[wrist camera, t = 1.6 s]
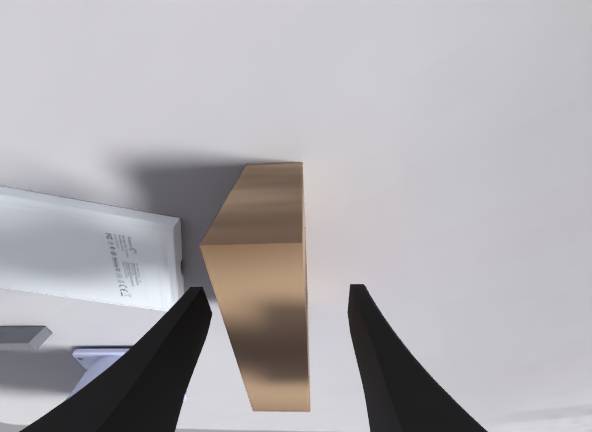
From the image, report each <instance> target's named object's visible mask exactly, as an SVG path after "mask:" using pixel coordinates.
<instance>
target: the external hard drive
mask: <svg viewBox="0 0 592 432" xmlns="http://www.w3.org/2000/svg"><path fill="white" fill-rule="evenodd" d="M181 260H182V237H181V219H180V218H176V217H171V216H165V215H160V214H154V213H148V212H143V211H137V210H132V209H127V208H121V207H115V206H110V205H104V204H99V203H93V202H88V201H82V200H76V199H71V198H65V197H60V196H54V195H49V194H43V193H38V192H32V191H27V190H22V189H16V188H10V187H4V186H0V288H4V289H11V290H18V291H25V292H32V293H39V294H46V295H53V296H60V297H67V298H75V299H82V300H89V301H96V302H103V303H110V304H117V305H124V306H132V307H139V308H146V309H153V310H160V311H166V312H168V311H169V310H170V308H171V307H172V306H173V305H174V304H175V303H176V302H177V301H178V300H179V299H180V298H181V297H182V296H183V294H184V279H183V273H181Z"/></svg>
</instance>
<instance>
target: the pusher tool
mask: <svg viewBox="0 0 592 432" xmlns="http://www.w3.org/2000/svg"><path fill="white" fill-rule="evenodd" d="M199 247H200V250H201V253H202V256H203V259H204V262H205V265H206V268H207V271H208V274H209V277H210V281H211V284H212V287H213V290H214V293H215V296H216V299H217V302H218V305H219V308H220V311H221V314H222V317H223V320H224V324H225V327H226V330H227V333H228V336H229V339H230V342H231V345H232V348H233V351H234V354H235V357H236V360H237V364H238V367H239V370H240V373H241V376H242V379H243V382H244V385H245V388H246V391H247V394H248V397H249V400H250V404H251V407H252V410H253V411H284V412H310V375H309V328H308V291H307V264H306V238H305V212H304V186H303V162H297V163H273V164H249V165H246V166H245V168H244V169H243V171H242V173H241V175H240V176H239V178H238V180H237V181H236V183H235V185H234V187H233V188H232V190H231V192H230V193H229V195H228V197H227V199H226V200H225V202H224V204H223V205H222V207H221V209H220V211H219V212H218V214H217V216H216V217H215V219H214V221H213V223H212V224H211V226H210V228H209V229H208V231H207V233H206V234H205V236H204V238H203V240H202V241H201V243H200V245H199Z"/></svg>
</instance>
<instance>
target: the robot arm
mask: <svg viewBox="0 0 592 432" xmlns="http://www.w3.org/2000/svg"><path fill="white" fill-rule="evenodd" d="M211 317H212V312H211V309H210V306H209V303H208V300H207V298H206V295H205V292H204V289H203V287H190V288H189V289H188V290H187V291H186V292H185V293H184V294H183V296H182V297H181V298H180V299H179V300H178V301H177V302H176V303H175V304H174V305H173V306H172V307H171V308H170V310H169V311H168V312H167V313H166V314H165V315H164V316H163V317H162V318H161V319H160V320H159V321H158V322H157V323H156V324H155V325H154V326H153V327H152V328H151V329H150V330H149V331H148V332H147V333H146V334H145V335H144V336H143V337H142V338H141V339H140V340H139V341H138V342H137V343H136V344H135V345H134V346H133V347H131V348H130V349H76V350H75V351H74V352H73V353H72V355H73V357H74V358H75V359H76V360H77V361H78V362H79V363H80V364H81V365H82V366H83V367H84V368H85V369H86V370H87V371H86V372H85V374H84V375H83V376H82V378H81V379H80V381H79V382H78V383H77V385H76V386H75V388H74V389H73V391H72V392H71V393H70V395H69V396H68V398H67V399H66V400H65V401H64V402H63V403H61V404H60V405H58V406H57V407H56V408H54V409H53V410H51V411H50V412H48V413H47V414H46V415H44V416H43V417H41V418H40V419H38V420H37V421H35V422H34V423H32V424H31V425H29V426H27V427H26V428H24V429H23V430H21V431H20V432H175V429H176V425H177V421H178V417H179V414H180V410H181V407H182V403H183V402H184V401H186V398H187V395H186V394H185V393H186V390H187V387H188V384H189V382H190V379H191V376H192V374H193V371H194V368H195V366H196V363H197V361H198V358H199V355H200V353H201V350H202V347H203V345H204V342H205V339H206V336H207V333H208V329H209V326H210V321H211ZM348 318H349V326H350V333H351V338H352V342H353V346H354V351H355V355H356V359H357V363H358V367H359V371H360V375H361V380H362V384H363V389H364V394H365V399H366V406H367V412H368V418H369V425H370V432H488V431H486V430H485V429H484V428H483V427H482V426H481V425H480V424H479V423H478V422H477V421H475V420H474V419H473V418H472V417H471V416H470V415H469V414H468V413H467V412H466V411H465V410H464V409H463V408H462V407H461V406H460V405H459V404H458V403H457V402H456V401H455V400H454V399H453V398H452V397H451V396H450V395H449V394H448V393H447V392H446V391H445V390H444V389H443V388H442V387H441V386H440V385H439V384H438V383H437V382H436V381H435V380H434V379H433V378H432V377H431V376H430V374H429V373H428V372H427V371H426V370H425V369H424V368H423V367H422V365H421V364H420V363H419V362H418V361H417V360H416V359H415V357H414V356H413V355H412V354H411V353H410V351H409V350H408V349H407V348H406V346H405V345H404V344H403V342H402V341H401V340H400V339H399V337H398V336H397V335H396V333H395V332H394V331H393V329H392V328H391V326H390V325H389V324H388V322H387V321H386V319H385V318H384V316H383V315H382V313H381V312H380V310H379V309H378V307H377V306H376V304H375V302H374V301H373V299H372V297H371V296H370V294H369V292H368V290H367V288H366V286H365V285H364V284H350V293H349V303H348Z"/></svg>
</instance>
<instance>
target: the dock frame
mask: <svg viewBox="0 0 592 432" xmlns="http://www.w3.org/2000/svg"><path fill="white" fill-rule="evenodd" d="M51 334H52V333H51V332H50V331H49V330H48V329H47V327H46V326H31V327H0V351H15V350H37V349H38V348H39V347H40V346H41V345H42V344H43V342H44V341H45V340H46V339H47V338H48V337H49V336H50V335H51Z"/></svg>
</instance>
